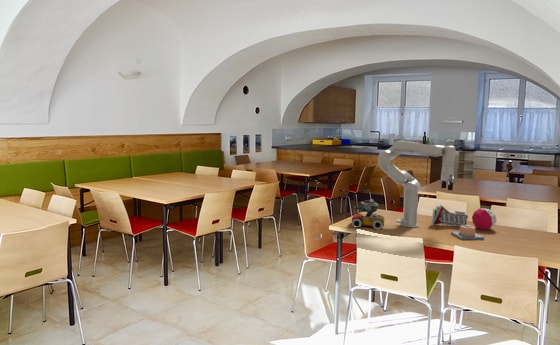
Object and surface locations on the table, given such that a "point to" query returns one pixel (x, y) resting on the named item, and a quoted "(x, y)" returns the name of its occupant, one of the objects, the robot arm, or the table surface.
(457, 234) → the post stand
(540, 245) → the table surface
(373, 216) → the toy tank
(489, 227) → the decorative object
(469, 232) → the collar
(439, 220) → the decorative sign
